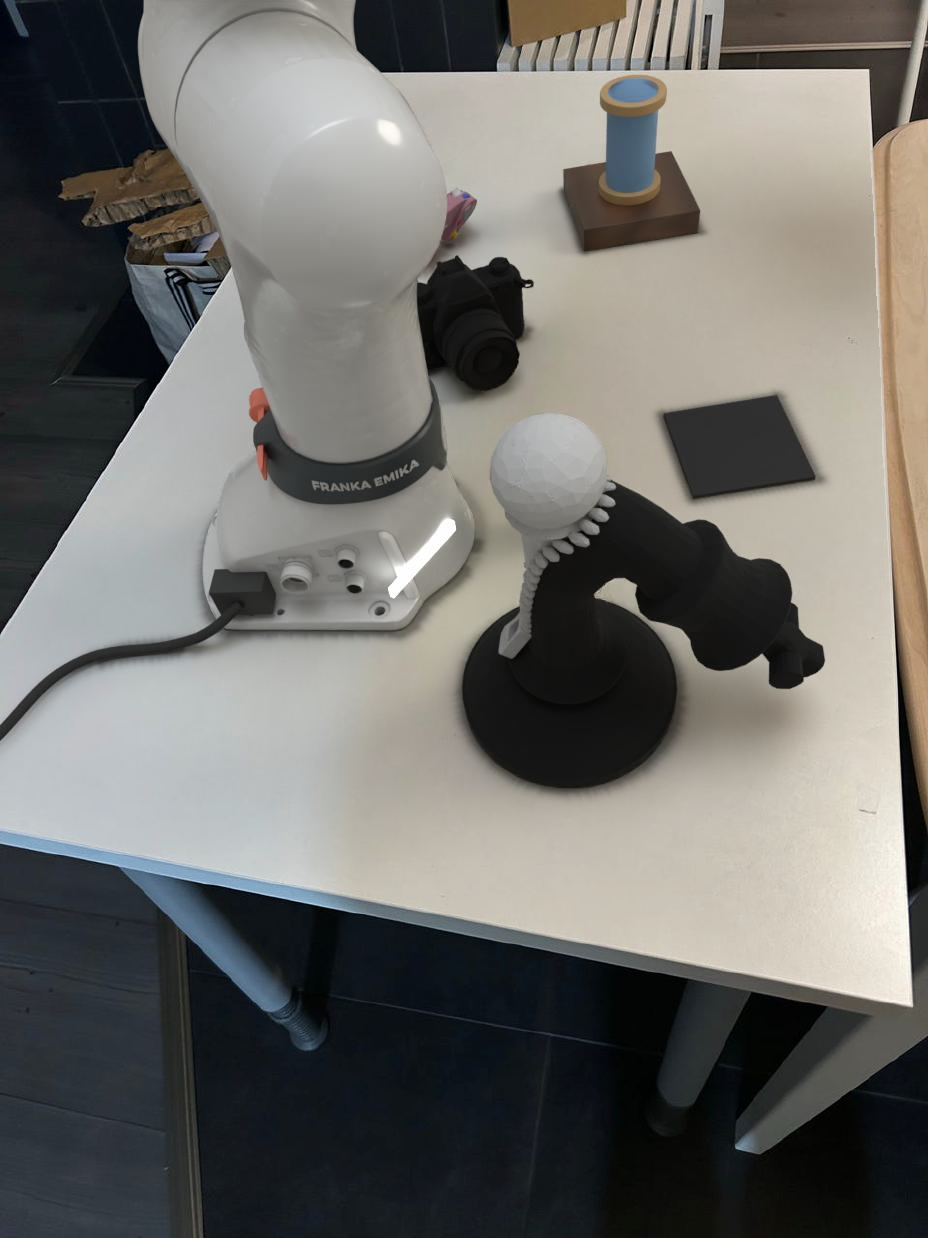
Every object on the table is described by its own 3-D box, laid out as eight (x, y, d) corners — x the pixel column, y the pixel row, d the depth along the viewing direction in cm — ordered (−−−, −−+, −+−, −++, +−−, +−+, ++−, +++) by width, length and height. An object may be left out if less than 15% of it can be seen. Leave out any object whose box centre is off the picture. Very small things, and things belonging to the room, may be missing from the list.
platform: (583, 251, 96) (583, 229, 94) (563, 190, 103) (563, 168, 101) (698, 232, 96) (700, 209, 94) (669, 172, 103) (671, 150, 101)
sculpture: (478, 599, 71) (436, 331, 51) (796, 614, 67) (888, 332, 47) (449, 778, 63) (384, 543, 42) (812, 809, 59) (932, 565, 38)
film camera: (411, 422, 84) (394, 341, 76) (377, 361, 89) (358, 280, 82) (562, 368, 86) (560, 284, 78) (520, 312, 91) (514, 228, 84)
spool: (605, 209, 95) (607, 111, 87) (593, 177, 99) (594, 80, 91) (666, 199, 95) (674, 100, 87) (652, 167, 99) (658, 69, 91)
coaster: (692, 499, 75) (693, 495, 74) (663, 416, 81) (663, 412, 80) (815, 479, 75) (815, 476, 74) (776, 398, 80) (777, 394, 80)
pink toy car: (416, 286, 98) (431, 241, 92) (384, 258, 98) (396, 211, 92) (471, 238, 102) (489, 192, 96) (440, 211, 102) (456, 163, 96)
